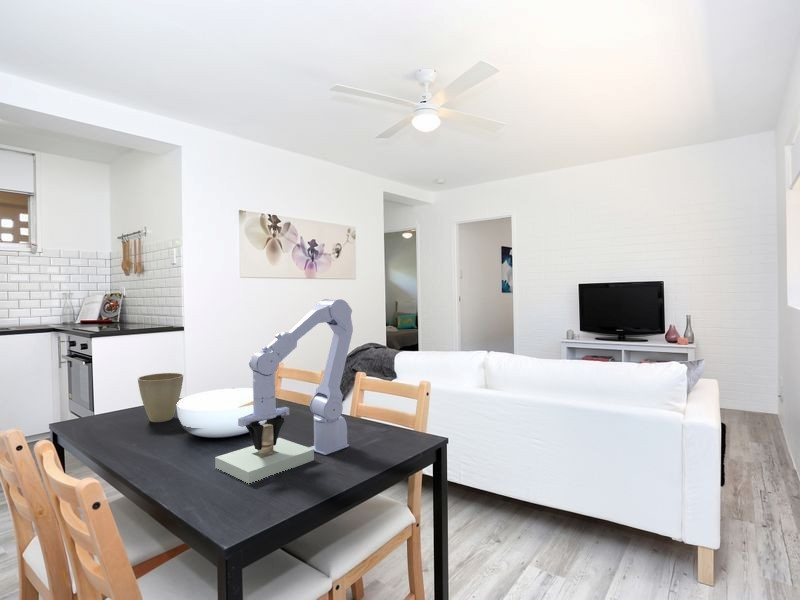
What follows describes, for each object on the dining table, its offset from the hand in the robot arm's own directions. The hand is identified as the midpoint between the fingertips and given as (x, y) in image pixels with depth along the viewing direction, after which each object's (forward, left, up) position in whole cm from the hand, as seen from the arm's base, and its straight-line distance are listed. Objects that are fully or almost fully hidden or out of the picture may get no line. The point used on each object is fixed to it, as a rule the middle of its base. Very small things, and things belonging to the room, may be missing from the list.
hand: (265, 446), depth 122 cm
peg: (0, 0, -2) cm, 3 cm away
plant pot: (-1, -68, -5) cm, 68 cm away
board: (0, 0, -5) cm, 5 cm away
